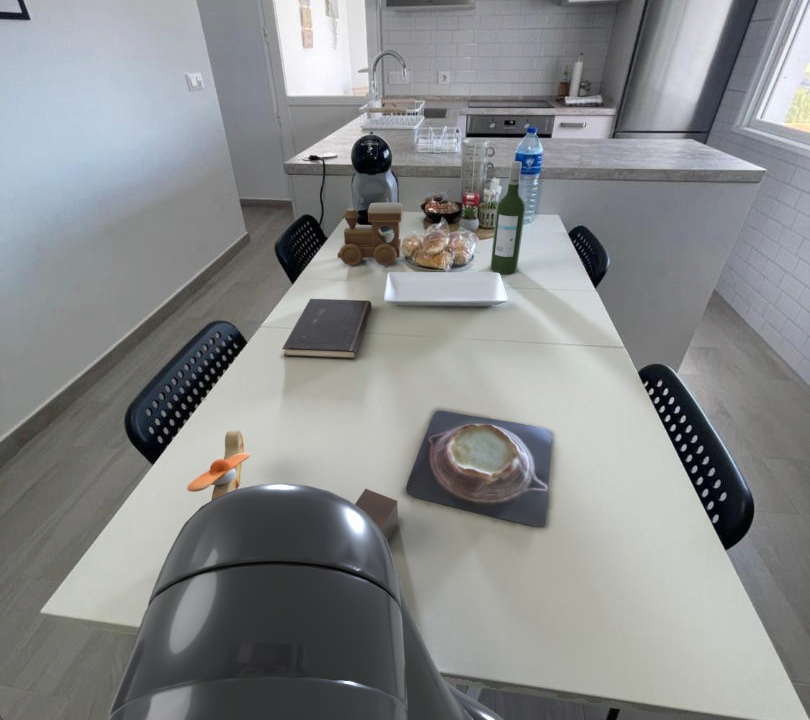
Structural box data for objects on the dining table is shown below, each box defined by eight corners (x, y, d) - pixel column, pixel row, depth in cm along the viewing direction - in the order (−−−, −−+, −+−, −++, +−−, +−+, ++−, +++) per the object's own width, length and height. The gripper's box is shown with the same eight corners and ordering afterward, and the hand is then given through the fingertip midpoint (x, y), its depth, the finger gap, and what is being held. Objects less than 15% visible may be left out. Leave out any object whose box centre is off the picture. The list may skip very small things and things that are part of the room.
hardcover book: (284, 356, 98) (282, 347, 97) (311, 306, 117) (310, 298, 116) (355, 359, 97) (354, 350, 96) (371, 308, 116) (371, 300, 114)
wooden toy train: (404, 253, 146) (403, 201, 136) (402, 267, 136) (401, 212, 127) (343, 253, 146) (337, 201, 137) (337, 267, 137) (331, 213, 127)
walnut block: (381, 552, 60) (380, 530, 57) (350, 538, 62) (346, 516, 59) (398, 522, 64) (397, 500, 61) (367, 510, 66) (365, 488, 63)
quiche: (551, 431, 78) (555, 414, 76) (545, 530, 62) (549, 512, 60) (435, 409, 83) (436, 392, 81) (402, 495, 68) (402, 477, 65)
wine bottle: (515, 263, 137) (529, 158, 120) (518, 274, 131) (534, 165, 113) (489, 263, 138) (500, 158, 120) (491, 274, 131) (502, 165, 114)
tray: (507, 312, 113) (508, 300, 111) (383, 311, 114) (382, 299, 112) (498, 283, 126) (499, 271, 124) (387, 282, 128) (387, 271, 126)
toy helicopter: (199, 588, 56) (163, 522, 49) (216, 465, 73) (192, 401, 65) (265, 573, 58) (242, 507, 50) (268, 456, 74) (250, 392, 67)
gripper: (384, 560, 47) (293, 469, 57) (273, 661, 39) (191, 536, 49) (387, 597, 51) (302, 506, 61) (288, 694, 43) (209, 572, 54)
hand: (252, 520), depth 55 cm, fingers closed
